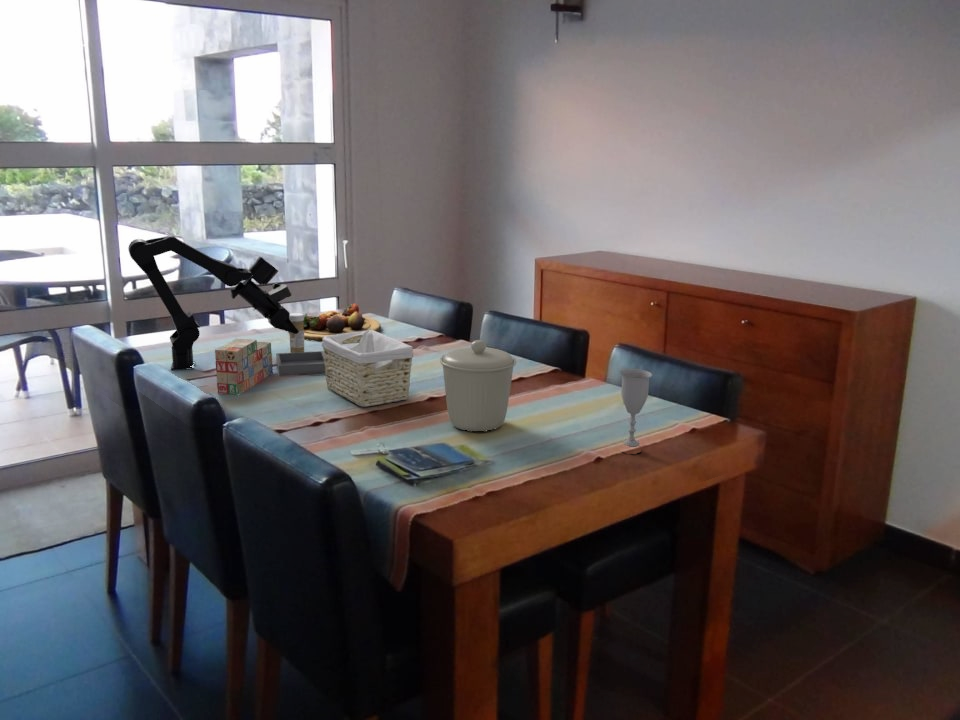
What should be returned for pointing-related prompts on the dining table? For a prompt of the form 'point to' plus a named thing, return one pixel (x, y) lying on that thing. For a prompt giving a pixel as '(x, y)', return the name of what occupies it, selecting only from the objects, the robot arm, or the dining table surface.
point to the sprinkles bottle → (298, 338)
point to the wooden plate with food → (337, 323)
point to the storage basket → (368, 367)
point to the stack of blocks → (242, 365)
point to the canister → (477, 386)
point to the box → (300, 363)
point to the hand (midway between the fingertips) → (294, 329)
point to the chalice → (634, 397)
